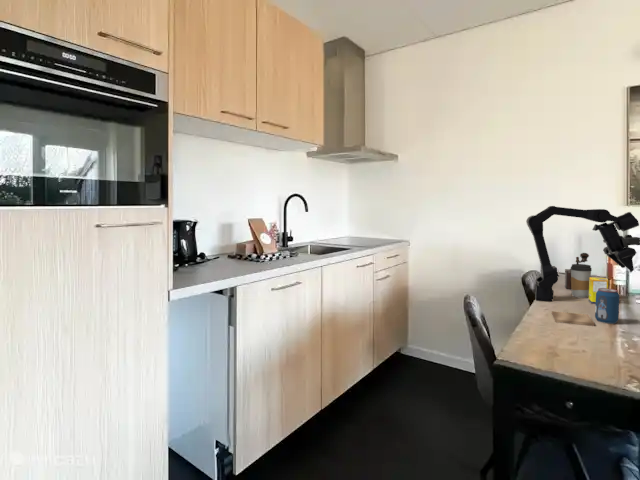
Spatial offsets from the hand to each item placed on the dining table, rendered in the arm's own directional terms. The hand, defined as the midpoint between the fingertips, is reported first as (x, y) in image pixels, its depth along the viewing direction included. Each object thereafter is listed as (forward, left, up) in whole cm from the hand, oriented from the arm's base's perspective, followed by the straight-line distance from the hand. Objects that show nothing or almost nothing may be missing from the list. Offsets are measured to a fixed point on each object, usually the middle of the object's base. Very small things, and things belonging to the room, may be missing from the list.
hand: (627, 269), depth 160 cm
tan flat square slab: (-24, -34, -16) cm, 44 cm away
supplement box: (-10, 0, -16) cm, 19 cm away
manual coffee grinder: (-13, +34, -16) cm, 40 cm away
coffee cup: (-15, +11, -16) cm, 25 cm away
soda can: (-13, -32, -16) cm, 38 cm away
